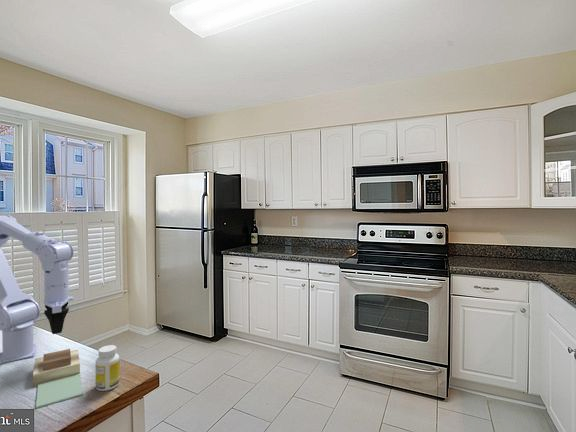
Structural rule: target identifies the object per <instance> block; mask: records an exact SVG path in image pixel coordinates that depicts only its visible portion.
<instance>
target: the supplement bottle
mask: <svg viewBox="0 0 576 432" xmlns="http://www.w3.org/2000/svg"><path fill="white" fill-rule="evenodd" d="M120 373H121V372H120V355H119V354H118V353H117V346H116V345H114V344H109V345H105V346H102V347H100V348H99V349H98V357H97V358H96V359H95V389H96V390H97V391H98V392H99V391H100V392H105V391H111V390H112V389H115V388H116V387H117V386H119V384H120V380H121V378H120V375H121V374H120Z"/></svg>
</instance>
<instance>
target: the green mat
mask: <svg viewBox="0 0 576 432" xmlns="http://www.w3.org/2000/svg"><path fill="white" fill-rule="evenodd" d="M81 379H82V377H81V373H80V374H76V375H72V376H68V377H64V378H60V379H56V380H52V381H48V382H44V383H40V384H38V385H37V393H36V401H35V402H36V403H35V409H39V408H43V407H47V406H49V405H53V404H56V403H61V402H63V401H68V400H70V399H74V398H77V397H81V396H83V395H84V392H83V391H84V390H83V385H82V380H81Z"/></svg>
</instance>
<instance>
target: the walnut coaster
mask: <svg viewBox="0 0 576 432" xmlns="http://www.w3.org/2000/svg"><path fill="white" fill-rule="evenodd" d="M70 351H71V348H67V349H63V350H62V349H61V350H58V351H54V352H49V353H43V371H45V370H49V369H54V368H58V367H62V366H66V365H70V364H71V353H70Z"/></svg>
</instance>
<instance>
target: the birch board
mask: <svg viewBox="0 0 576 432" xmlns="http://www.w3.org/2000/svg"><path fill="white" fill-rule="evenodd" d="M70 353H71V364H70V365H66V366H62V367H58V368H54V369H49V370H45V371H43V357H44V356H43V357H38V358H35V359H34V366H33V371H32V372H33V374H32V387H36V386H37V387H38V384H40V383H44V382H48V381H52V380H56V379H60V378H64V377H68V376H72V375H76V374H80V375H81V362H80V361H81V360H80V356H79V355H80V354H79V350H78V349H76V350H70Z"/></svg>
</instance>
